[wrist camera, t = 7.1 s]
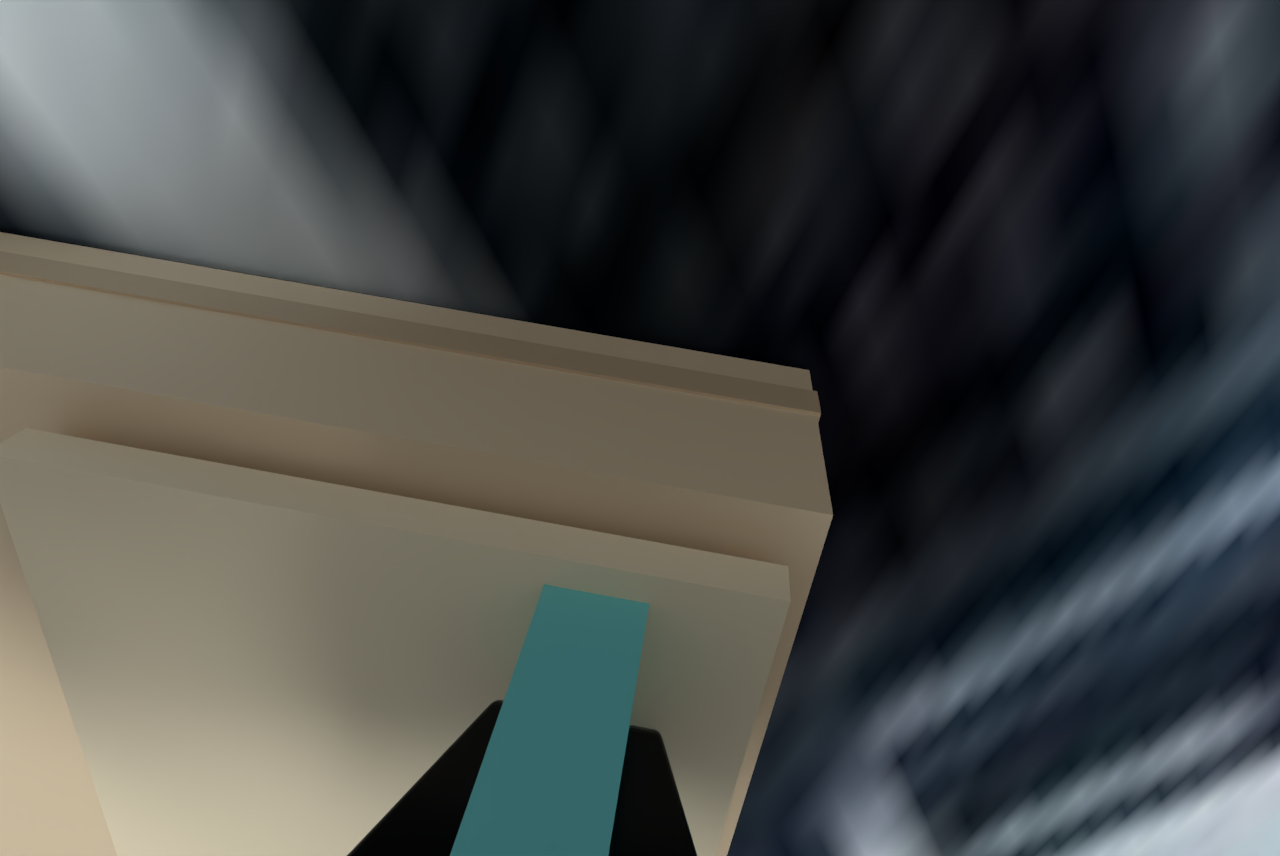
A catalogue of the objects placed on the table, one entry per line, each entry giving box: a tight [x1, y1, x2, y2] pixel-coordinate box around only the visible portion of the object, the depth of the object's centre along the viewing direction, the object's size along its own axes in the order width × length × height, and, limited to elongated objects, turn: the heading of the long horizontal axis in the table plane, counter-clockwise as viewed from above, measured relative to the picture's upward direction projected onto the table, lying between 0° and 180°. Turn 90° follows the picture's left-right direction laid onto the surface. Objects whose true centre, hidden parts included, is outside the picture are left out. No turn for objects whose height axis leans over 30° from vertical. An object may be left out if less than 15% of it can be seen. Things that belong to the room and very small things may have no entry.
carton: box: [0, 232, 833, 856], centre depth 15 cm, size 20×16×4 cm
